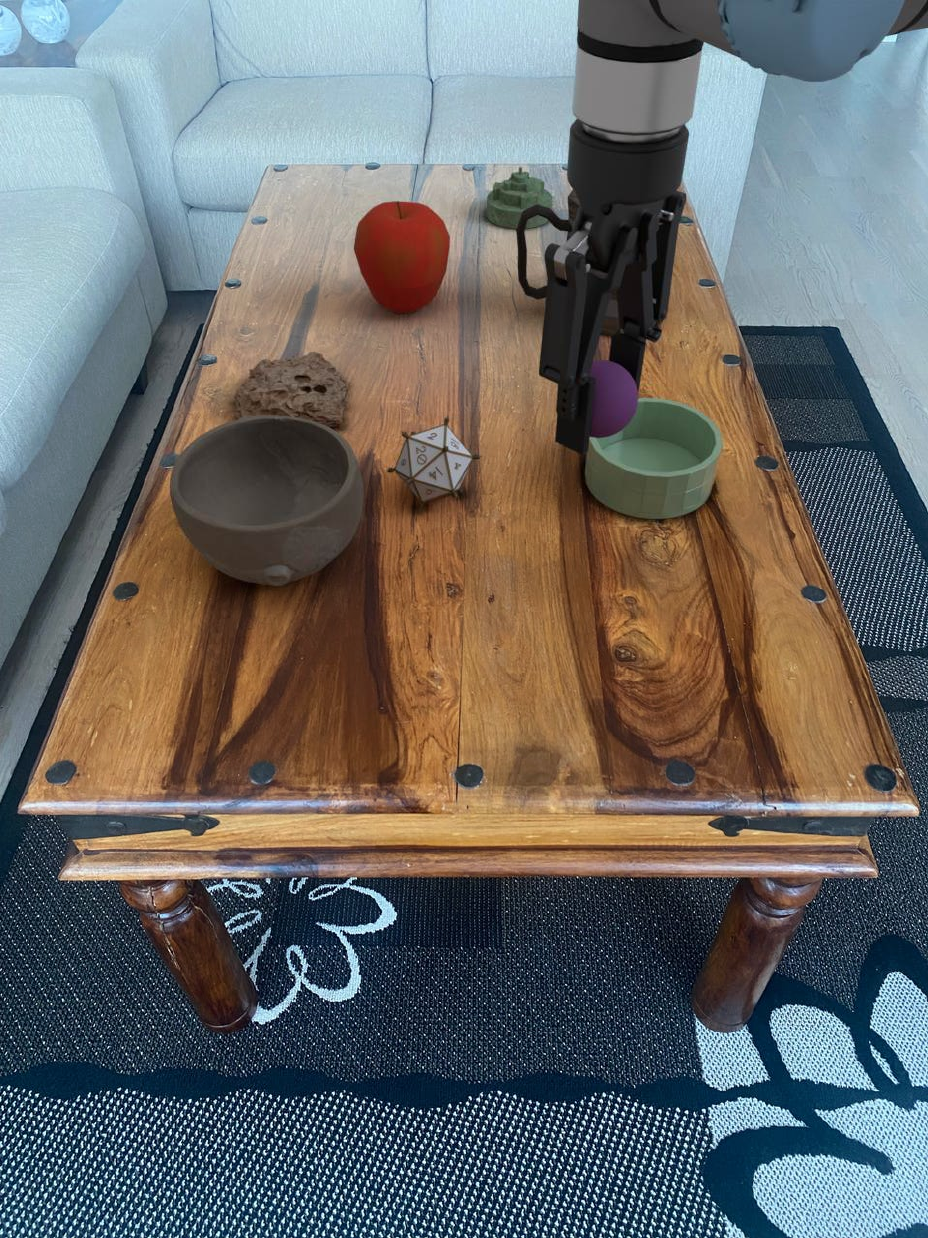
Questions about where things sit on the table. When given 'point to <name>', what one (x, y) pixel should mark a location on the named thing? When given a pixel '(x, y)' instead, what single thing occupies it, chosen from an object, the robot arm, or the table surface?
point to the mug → (566, 225)
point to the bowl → (268, 497)
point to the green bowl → (656, 461)
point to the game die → (433, 463)
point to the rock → (294, 390)
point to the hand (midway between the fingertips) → (596, 426)
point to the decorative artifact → (517, 200)
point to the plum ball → (612, 398)
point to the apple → (402, 254)
